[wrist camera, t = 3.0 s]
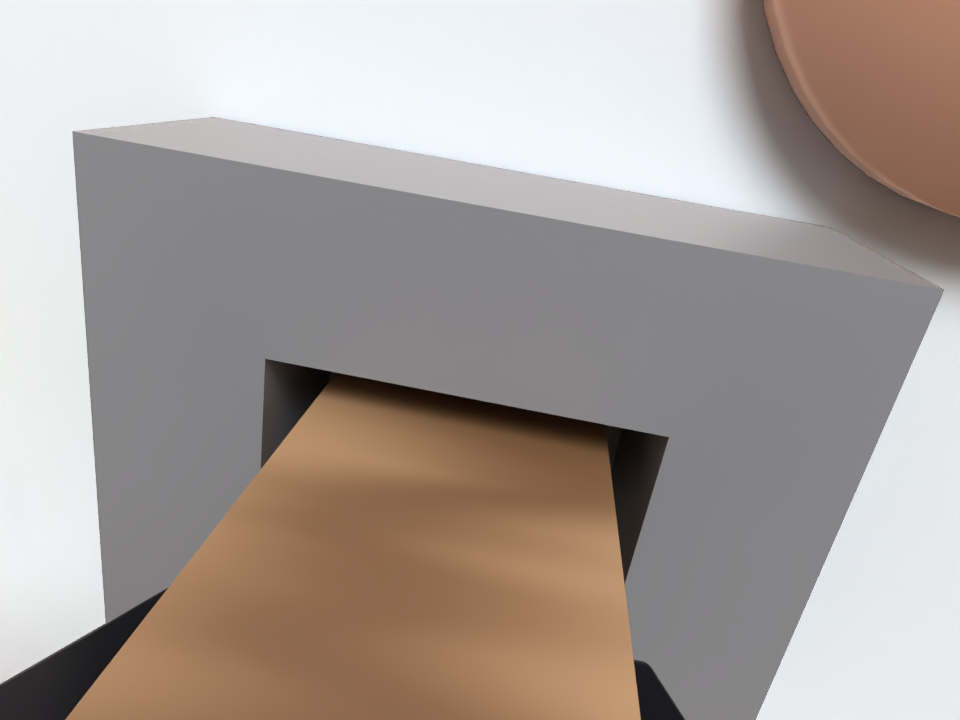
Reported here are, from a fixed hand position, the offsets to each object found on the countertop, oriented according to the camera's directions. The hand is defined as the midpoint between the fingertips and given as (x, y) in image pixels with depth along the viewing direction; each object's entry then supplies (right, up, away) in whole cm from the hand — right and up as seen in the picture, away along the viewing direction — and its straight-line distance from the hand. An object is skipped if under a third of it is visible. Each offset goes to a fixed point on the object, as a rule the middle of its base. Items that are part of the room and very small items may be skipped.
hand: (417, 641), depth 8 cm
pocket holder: (+1, +2, +5) cm, 5 cm away
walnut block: (0, +2, +4) cm, 4 cm away
